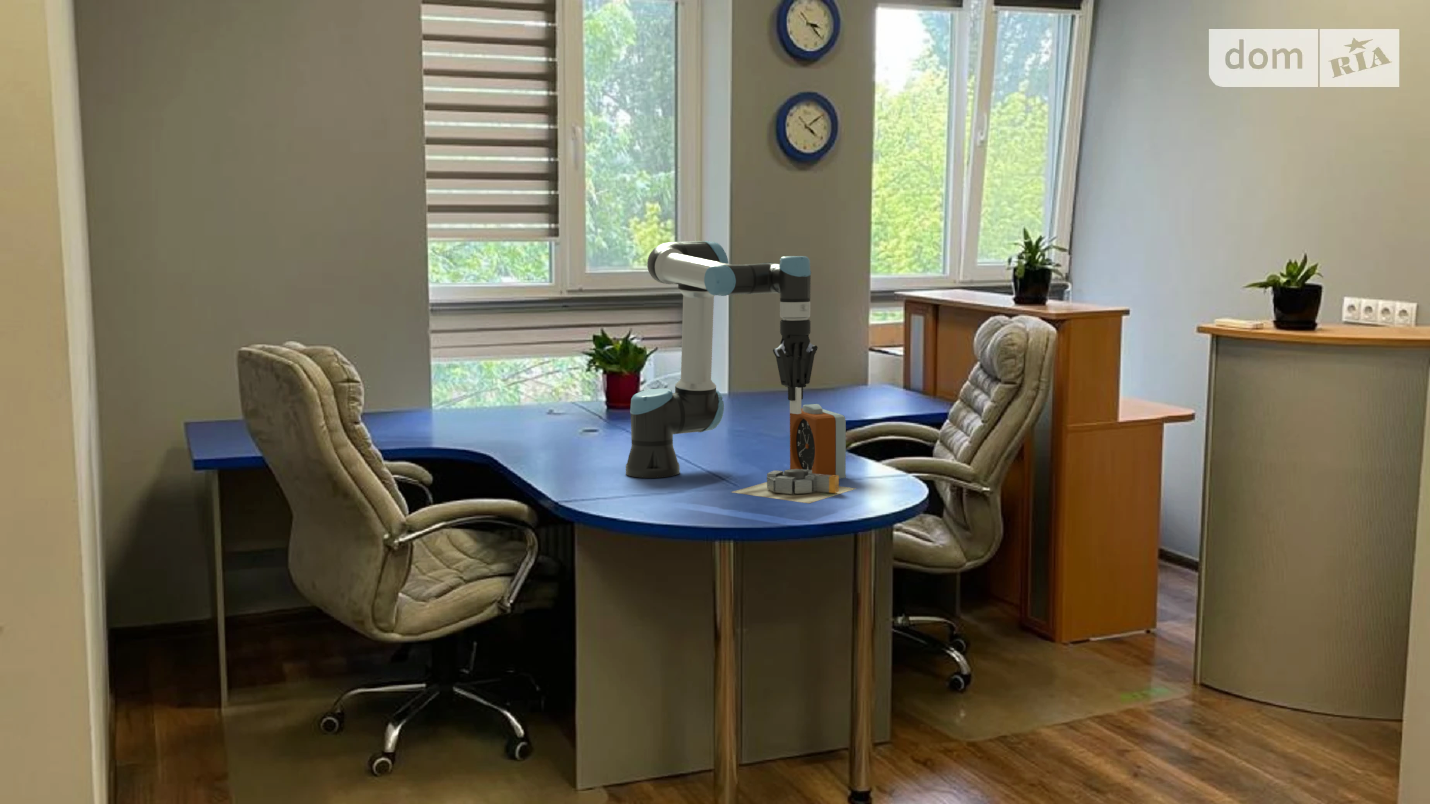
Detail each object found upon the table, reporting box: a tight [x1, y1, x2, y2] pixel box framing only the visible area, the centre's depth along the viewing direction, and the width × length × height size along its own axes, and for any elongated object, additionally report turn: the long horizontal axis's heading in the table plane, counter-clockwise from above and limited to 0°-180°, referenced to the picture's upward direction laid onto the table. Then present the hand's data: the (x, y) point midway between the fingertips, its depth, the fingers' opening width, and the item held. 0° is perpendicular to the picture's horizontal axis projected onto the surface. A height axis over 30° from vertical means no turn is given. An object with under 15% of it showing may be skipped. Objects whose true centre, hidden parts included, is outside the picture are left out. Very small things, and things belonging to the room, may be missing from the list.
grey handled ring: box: [766, 469, 840, 494], centre depth 343 cm, size 18×13×4 cm
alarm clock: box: [789, 403, 847, 479], centre depth 366 cm, size 18×9×21 cm, turn 21°
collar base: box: [731, 468, 857, 504], centre depth 344 cm, size 24×22×6 cm
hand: (795, 413), depth 335 cm, fingers closed
